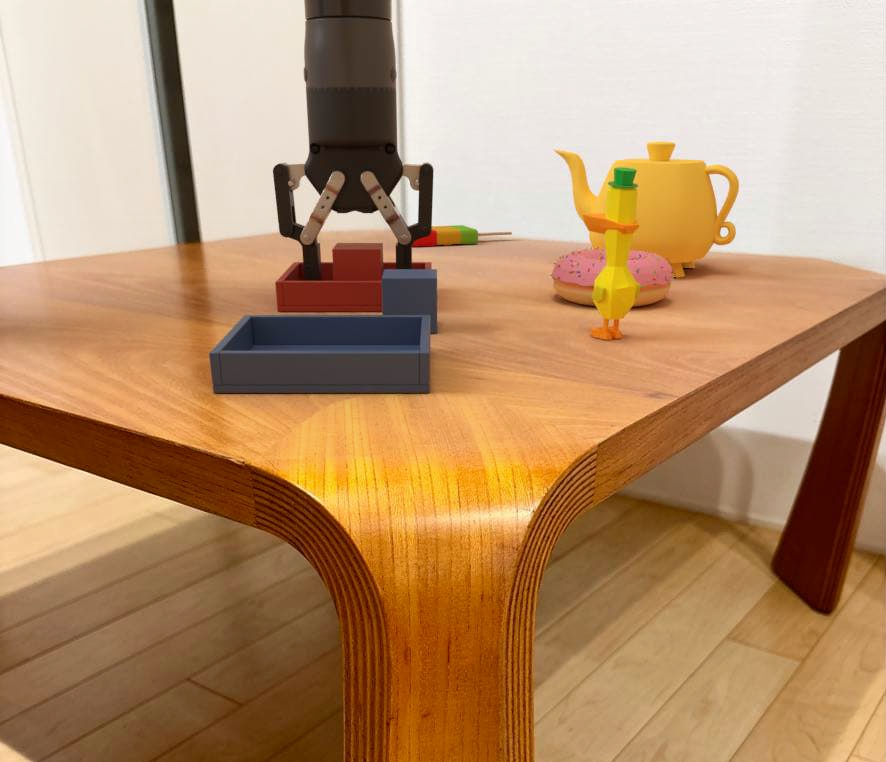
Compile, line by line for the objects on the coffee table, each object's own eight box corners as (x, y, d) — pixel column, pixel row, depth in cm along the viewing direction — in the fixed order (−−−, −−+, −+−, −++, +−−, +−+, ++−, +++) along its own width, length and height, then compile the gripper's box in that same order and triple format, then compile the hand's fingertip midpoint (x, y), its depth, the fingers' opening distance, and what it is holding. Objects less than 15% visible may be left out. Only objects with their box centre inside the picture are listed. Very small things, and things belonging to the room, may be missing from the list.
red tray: (277, 311, 78) (275, 281, 77) (295, 288, 88) (293, 261, 87) (431, 311, 78) (431, 281, 77) (431, 288, 88) (431, 261, 87)
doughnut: (566, 285, 90) (569, 241, 88) (679, 293, 86) (684, 247, 85) (536, 305, 81) (538, 256, 79) (661, 314, 77) (666, 263, 75)
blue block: (382, 333, 71) (381, 277, 69) (385, 322, 74) (384, 269, 73) (437, 333, 71) (437, 277, 69) (437, 322, 74) (437, 269, 73)
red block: (334, 298, 81) (332, 249, 79) (339, 289, 85) (336, 242, 83) (381, 298, 81) (380, 249, 79) (384, 289, 85) (382, 242, 83)
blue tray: (213, 393, 56) (208, 352, 55) (247, 349, 66) (244, 314, 65) (429, 393, 56) (429, 352, 55) (430, 349, 66) (430, 314, 65)
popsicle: (397, 242, 120) (397, 227, 119) (502, 237, 124) (503, 223, 123) (410, 247, 115) (410, 232, 114) (519, 242, 120) (520, 227, 119)
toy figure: (561, 329, 72) (570, 165, 67) (598, 325, 73) (610, 164, 68) (612, 347, 66) (627, 170, 61) (651, 342, 68) (668, 168, 63)
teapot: (720, 284, 90) (738, 144, 85) (529, 271, 98) (534, 142, 92) (739, 265, 102) (755, 140, 96) (566, 255, 109) (573, 138, 104)
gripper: (437, 85, 79) (437, 280, 86) (272, 84, 79) (285, 280, 86) (437, 82, 72) (437, 294, 79) (256, 82, 72) (272, 294, 79)
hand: (358, 286), depth 83 cm, fingers open, 7 cm apart
